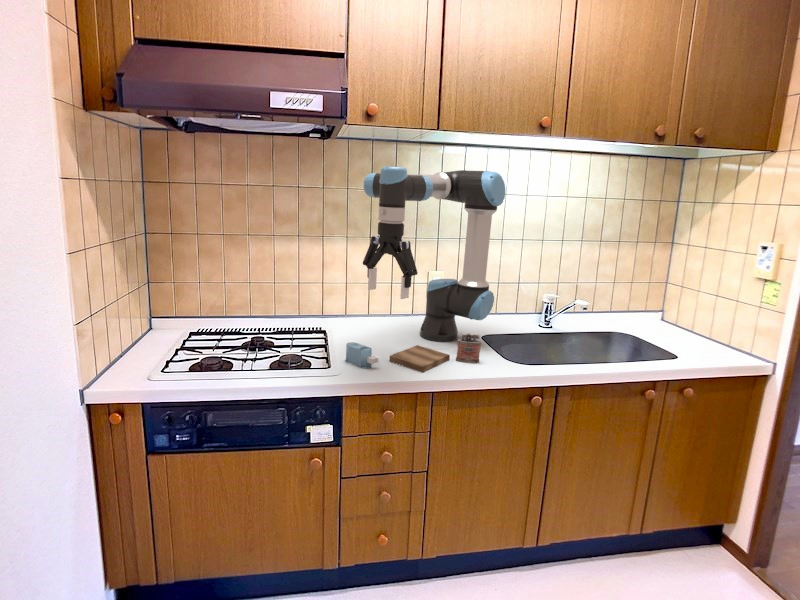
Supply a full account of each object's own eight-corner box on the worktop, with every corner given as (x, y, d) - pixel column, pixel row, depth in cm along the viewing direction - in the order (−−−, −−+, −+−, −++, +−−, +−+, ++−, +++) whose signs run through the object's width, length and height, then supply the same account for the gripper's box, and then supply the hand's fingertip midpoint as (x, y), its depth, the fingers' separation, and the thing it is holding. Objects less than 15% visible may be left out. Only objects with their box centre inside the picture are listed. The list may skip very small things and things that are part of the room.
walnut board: (417, 350, 182) (417, 345, 182) (449, 360, 174) (449, 354, 174) (389, 361, 170) (389, 355, 170) (422, 372, 162) (422, 366, 161)
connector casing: (351, 358, 171) (352, 341, 170) (379, 367, 164) (379, 350, 162) (343, 361, 168) (343, 344, 167) (370, 371, 161) (371, 353, 159)
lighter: (455, 361, 173) (458, 334, 171) (456, 358, 176) (458, 331, 174) (479, 363, 172) (481, 336, 170) (479, 360, 175) (481, 333, 173)
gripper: (352, 218, 149) (350, 287, 154) (414, 227, 132) (410, 304, 138) (370, 217, 154) (368, 284, 159) (432, 226, 138) (427, 300, 143)
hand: (387, 293), depth 148 cm, fingers open, 13 cm apart
